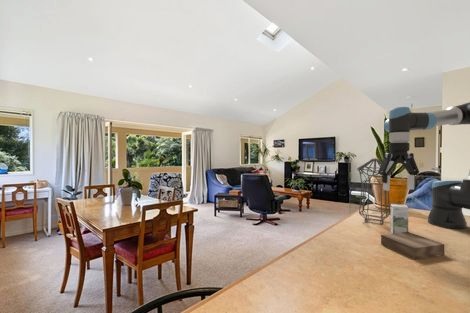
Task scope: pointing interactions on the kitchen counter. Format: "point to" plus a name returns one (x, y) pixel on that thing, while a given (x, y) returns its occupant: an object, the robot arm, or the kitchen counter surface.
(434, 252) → the walnut base
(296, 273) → the kitchen counter surface
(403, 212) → the syrup box
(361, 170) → the geometric lantern
